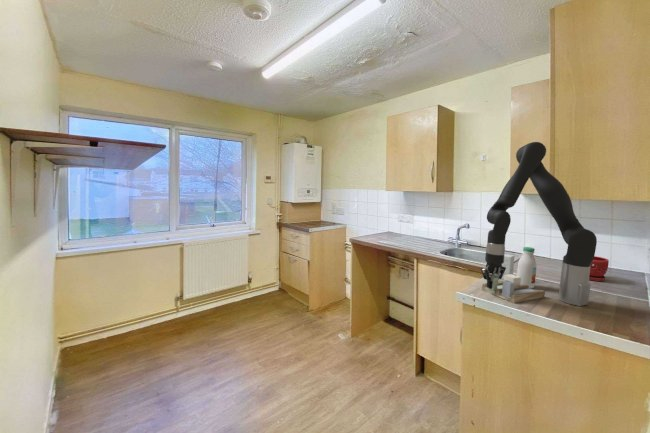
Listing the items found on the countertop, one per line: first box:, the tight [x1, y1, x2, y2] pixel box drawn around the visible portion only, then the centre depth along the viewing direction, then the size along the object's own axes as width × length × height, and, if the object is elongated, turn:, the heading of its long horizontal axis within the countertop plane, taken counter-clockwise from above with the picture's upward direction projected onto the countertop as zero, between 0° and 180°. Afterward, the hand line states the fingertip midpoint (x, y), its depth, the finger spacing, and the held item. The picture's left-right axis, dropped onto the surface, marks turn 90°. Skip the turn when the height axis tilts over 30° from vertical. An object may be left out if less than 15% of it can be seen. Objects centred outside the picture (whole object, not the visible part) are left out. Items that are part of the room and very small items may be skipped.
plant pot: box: [589, 255, 610, 282], centre depth 157 cm, size 13×13×12 cm
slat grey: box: [500, 280, 536, 299], centre depth 130 cm, size 5×19×7 cm, turn 110°
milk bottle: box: [516, 246, 537, 289], centre depth 143 cm, size 8×8×20 cm
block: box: [502, 274, 521, 286], centre depth 138 cm, size 5×5×5 cm
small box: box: [495, 253, 516, 280], centre depth 156 cm, size 8×6×13 cm
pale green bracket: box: [485, 276, 503, 293], centre depth 137 cm, size 5×19×7 cm, turn 110°
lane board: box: [481, 280, 546, 304], centre depth 134 cm, size 16×20×3 cm
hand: (491, 287), depth 134 cm, fingers closed on pale green bracket, 2 cm apart
